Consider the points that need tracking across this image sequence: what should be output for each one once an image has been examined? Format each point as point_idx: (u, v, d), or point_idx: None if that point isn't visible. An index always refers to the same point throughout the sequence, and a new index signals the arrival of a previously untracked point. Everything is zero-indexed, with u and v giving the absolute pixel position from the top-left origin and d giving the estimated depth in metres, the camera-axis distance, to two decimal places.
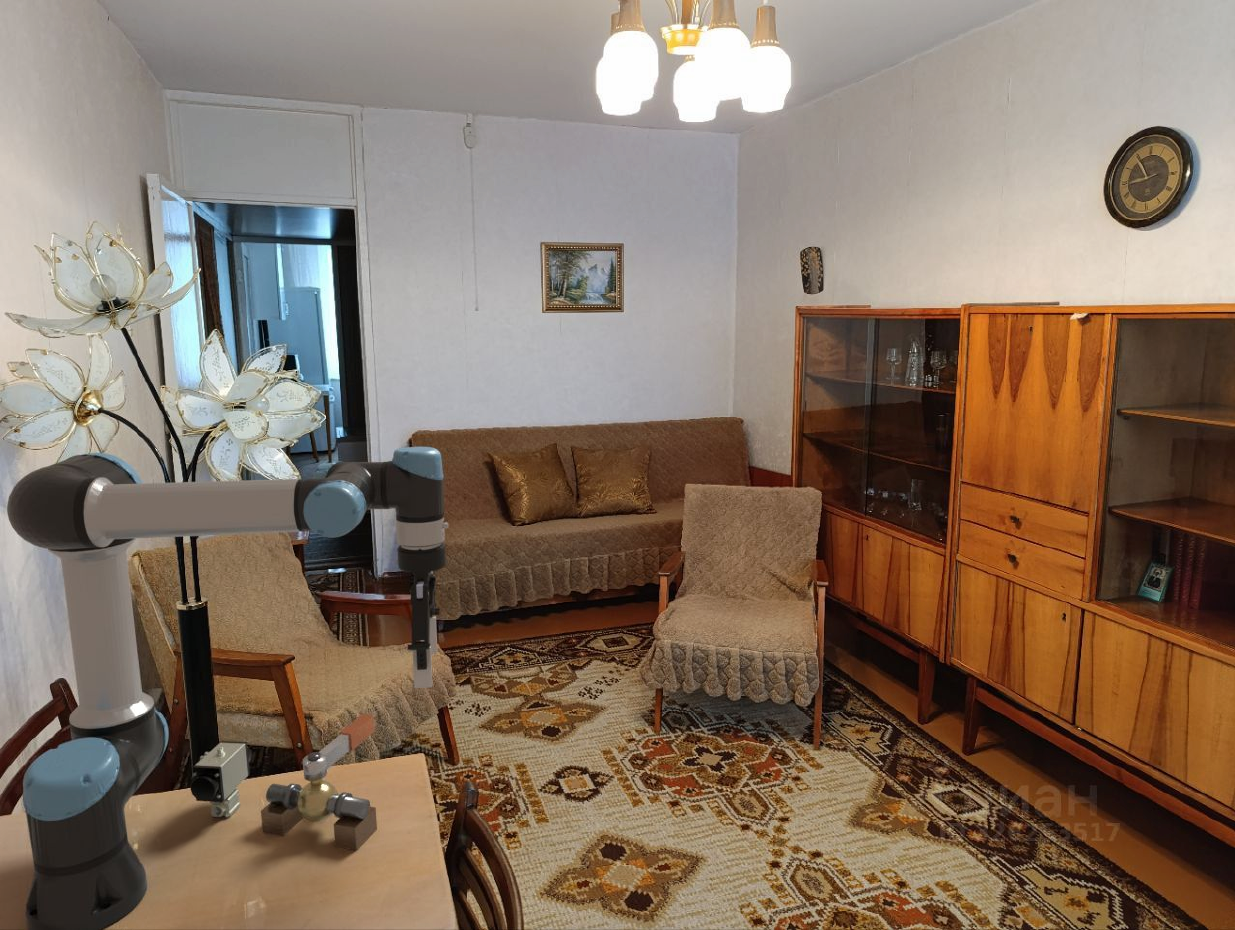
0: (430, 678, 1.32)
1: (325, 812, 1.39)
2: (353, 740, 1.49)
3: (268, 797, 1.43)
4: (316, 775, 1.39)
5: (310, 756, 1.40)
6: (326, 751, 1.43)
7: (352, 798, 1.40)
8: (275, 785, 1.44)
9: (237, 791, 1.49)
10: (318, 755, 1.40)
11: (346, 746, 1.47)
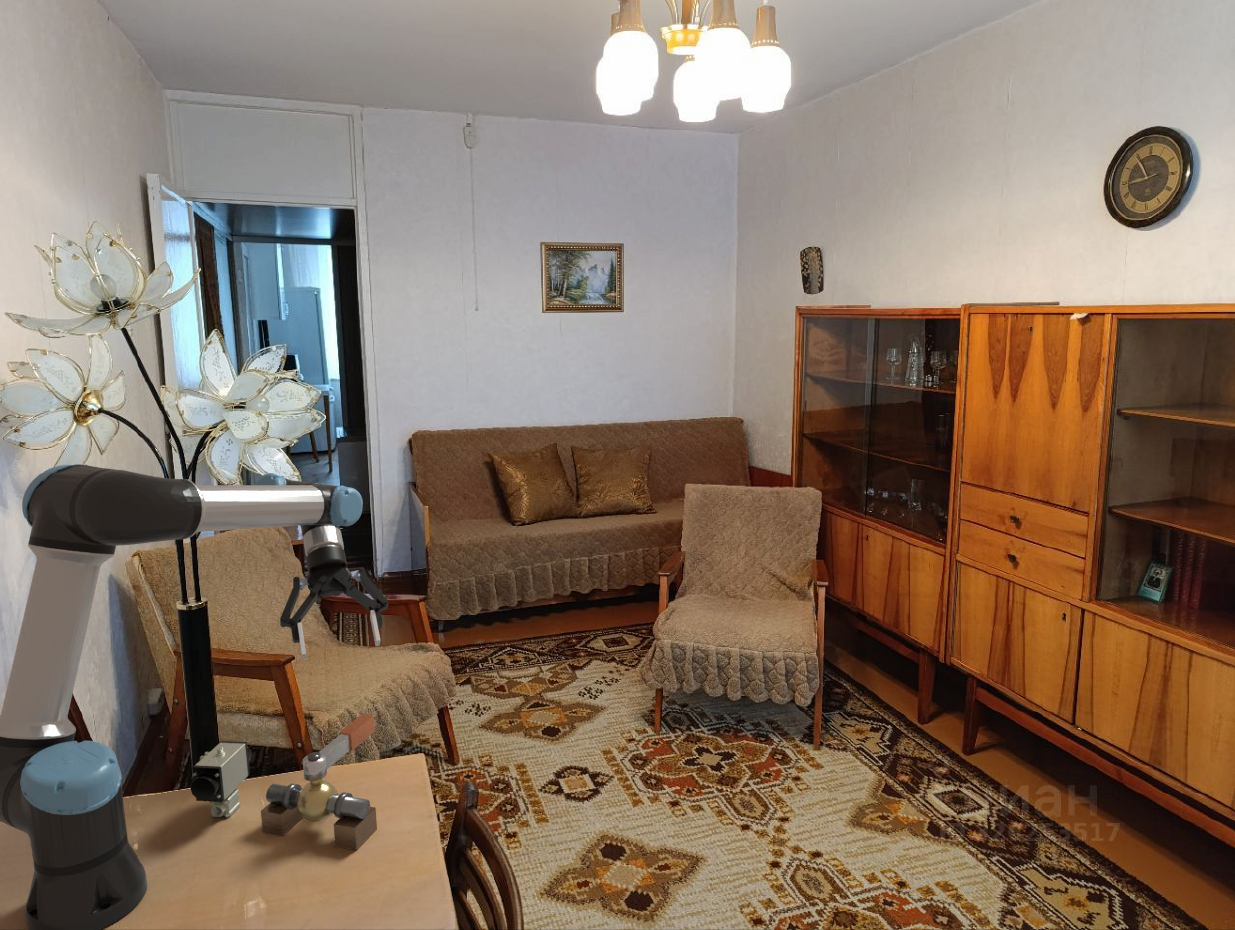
0: None
1: (325, 812, 1.39)
2: (353, 740, 1.49)
3: (268, 797, 1.43)
4: (316, 775, 1.39)
5: (310, 756, 1.40)
6: (326, 751, 1.43)
7: (352, 798, 1.40)
8: (275, 785, 1.44)
9: (237, 791, 1.49)
10: (318, 755, 1.40)
11: (346, 746, 1.47)
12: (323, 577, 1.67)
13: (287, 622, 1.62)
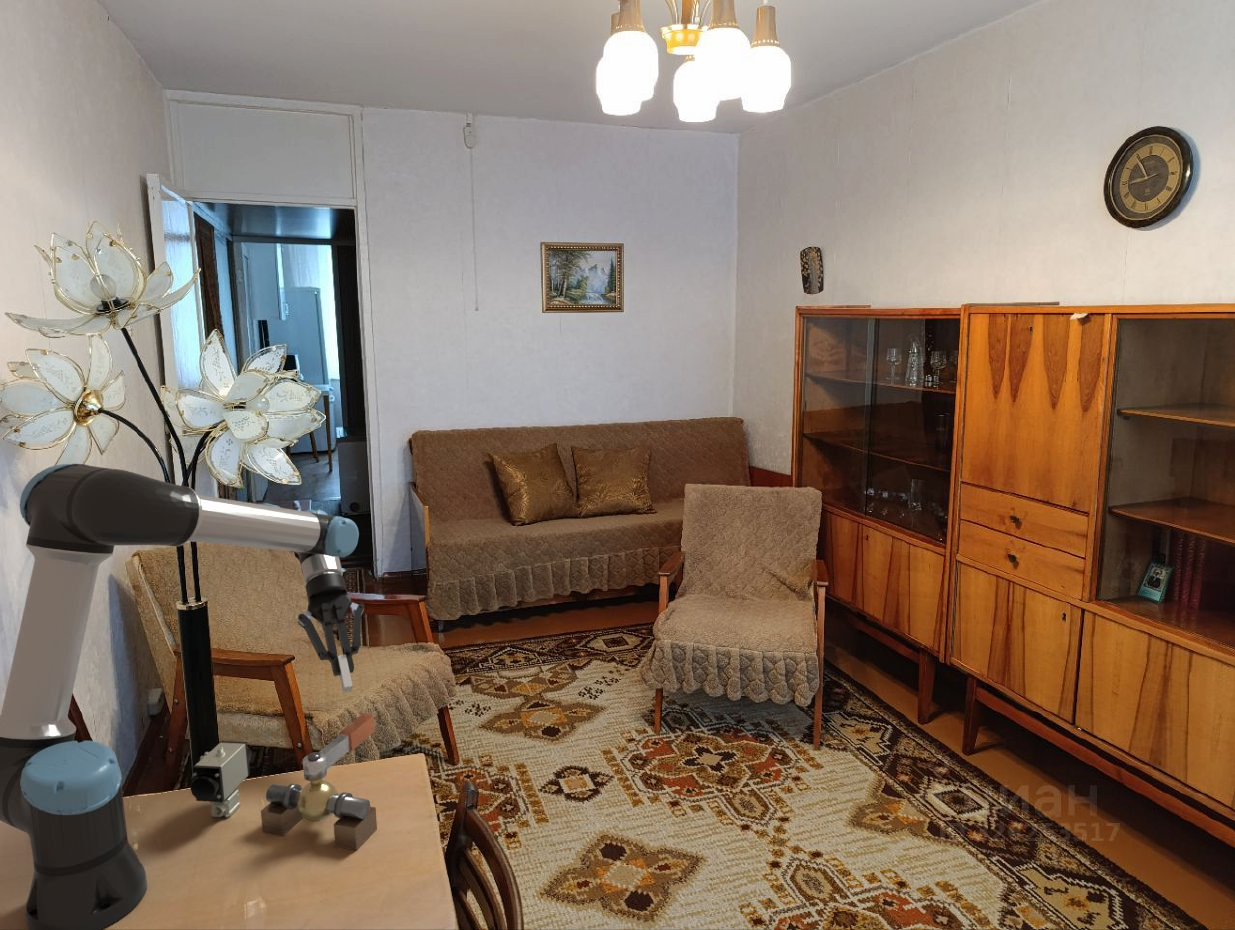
0: None
1: (325, 812, 1.39)
2: (353, 740, 1.49)
3: (268, 797, 1.43)
4: (316, 775, 1.39)
5: (310, 756, 1.40)
6: (326, 751, 1.43)
7: (352, 798, 1.40)
8: (275, 785, 1.44)
9: (237, 791, 1.49)
10: (318, 755, 1.40)
11: (346, 746, 1.47)
12: (324, 605, 1.67)
13: (327, 655, 1.62)
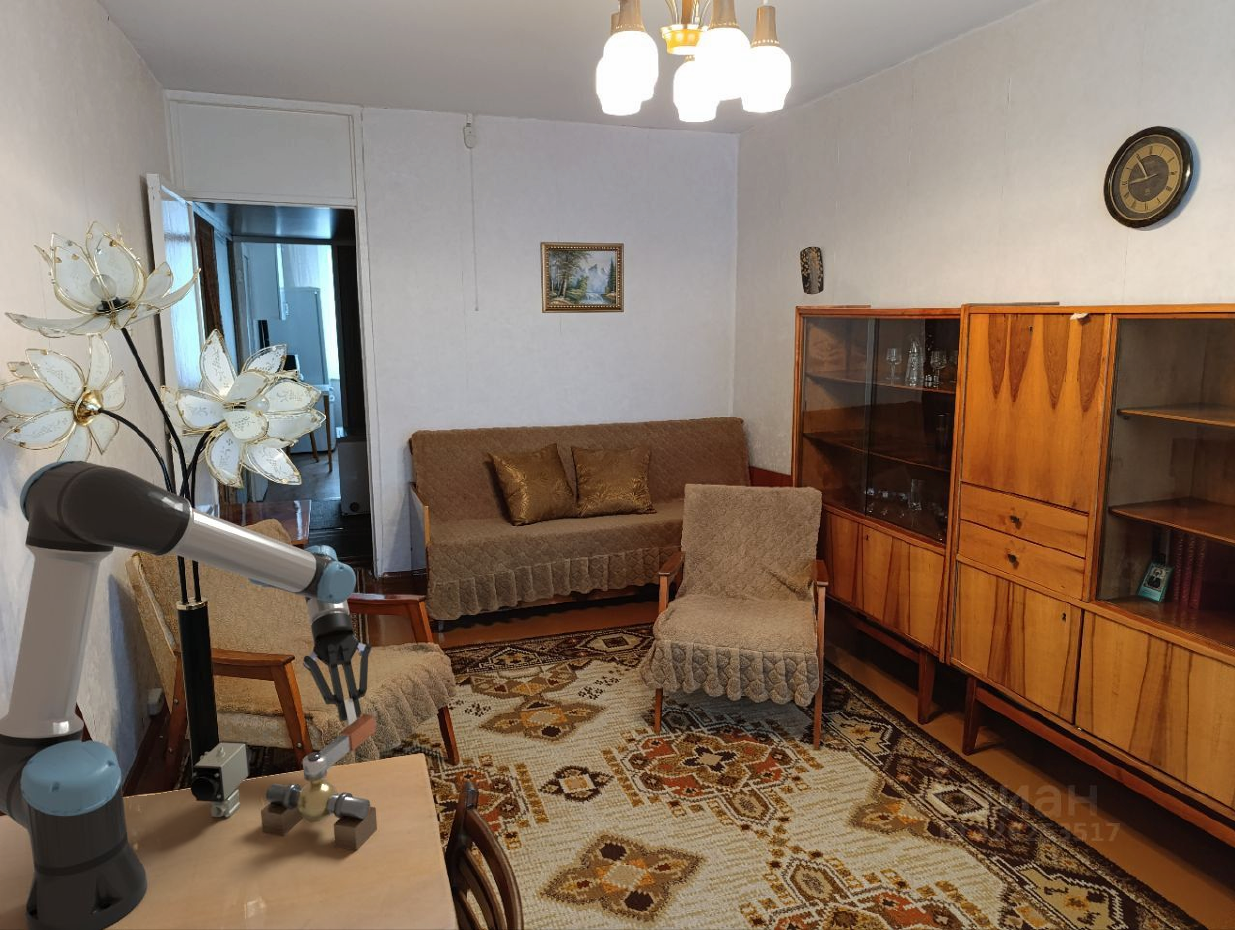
0: None
1: (325, 812, 1.39)
2: (354, 740, 1.49)
3: (268, 797, 1.43)
4: (316, 775, 1.39)
5: (310, 756, 1.40)
6: (326, 751, 1.43)
7: (352, 798, 1.40)
8: (275, 785, 1.44)
9: (237, 791, 1.49)
10: (318, 755, 1.40)
11: (346, 746, 1.47)
12: (330, 646, 1.61)
13: (333, 699, 1.57)
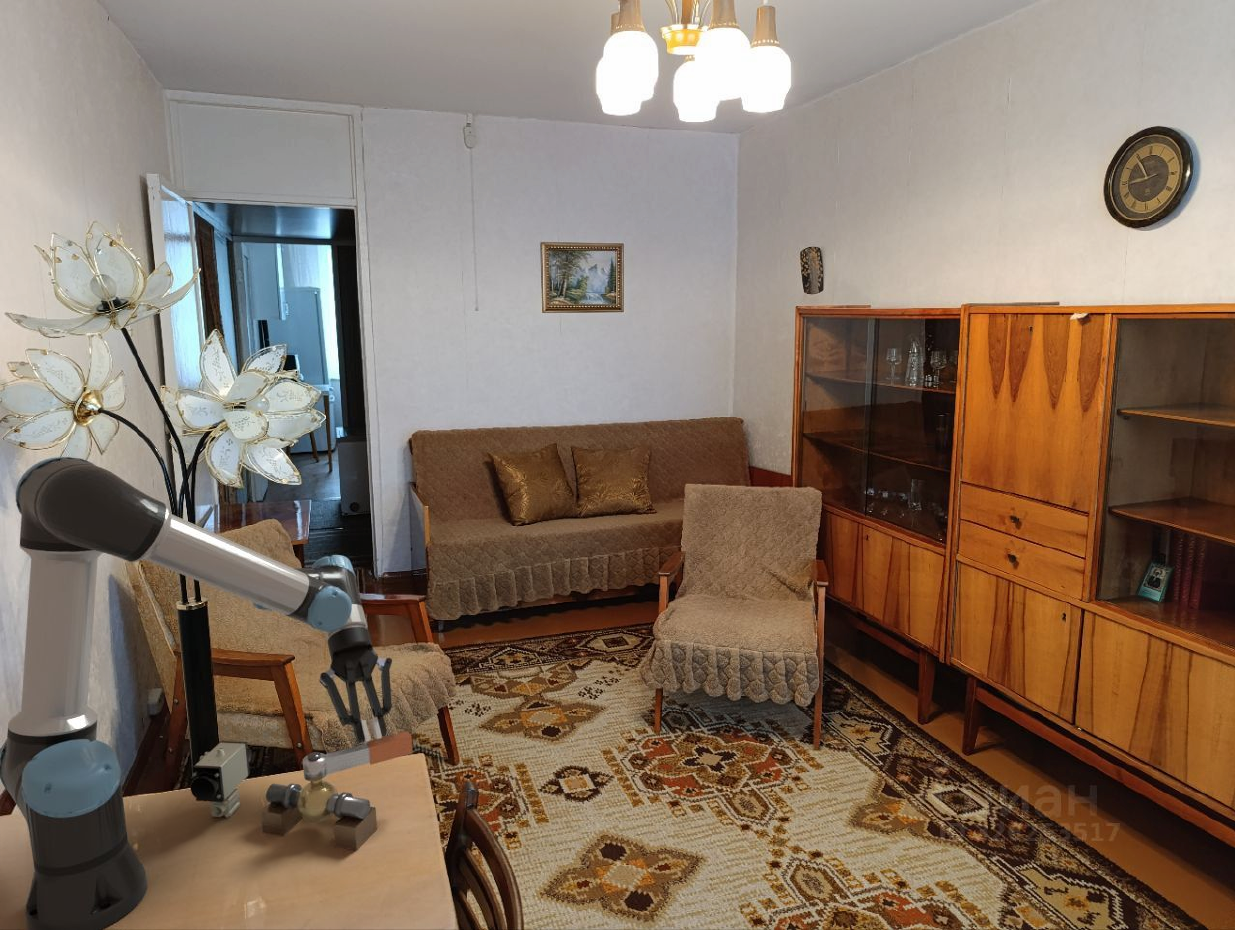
0: None
1: (325, 812, 1.39)
2: (373, 754, 1.44)
3: (268, 797, 1.43)
4: (308, 775, 1.39)
5: (310, 755, 1.40)
6: (332, 755, 1.41)
7: (352, 798, 1.40)
8: (275, 785, 1.44)
9: (237, 791, 1.49)
10: (315, 757, 1.39)
11: (363, 757, 1.44)
12: (348, 662, 1.54)
13: (350, 720, 1.49)
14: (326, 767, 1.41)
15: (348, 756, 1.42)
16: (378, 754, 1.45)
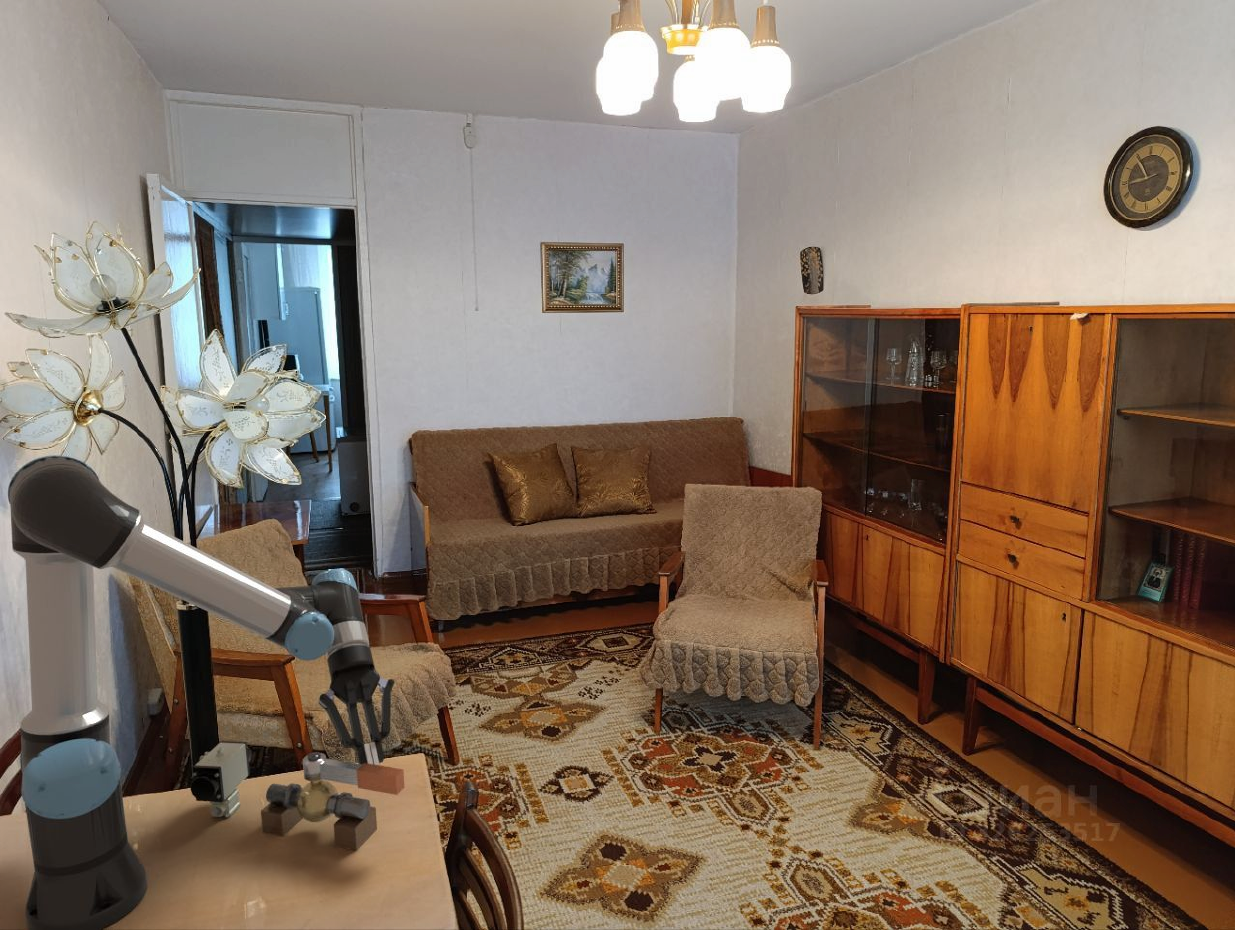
0: None
1: (325, 812, 1.39)
2: (360, 779, 1.37)
3: (268, 797, 1.43)
4: None
5: (312, 753, 1.40)
6: (327, 763, 1.39)
7: (352, 798, 1.40)
8: (275, 785, 1.44)
9: (237, 791, 1.49)
10: (311, 757, 1.39)
11: (352, 777, 1.38)
12: (348, 683, 1.46)
13: (352, 743, 1.42)
14: (320, 772, 1.39)
15: (339, 770, 1.38)
16: (364, 780, 1.36)
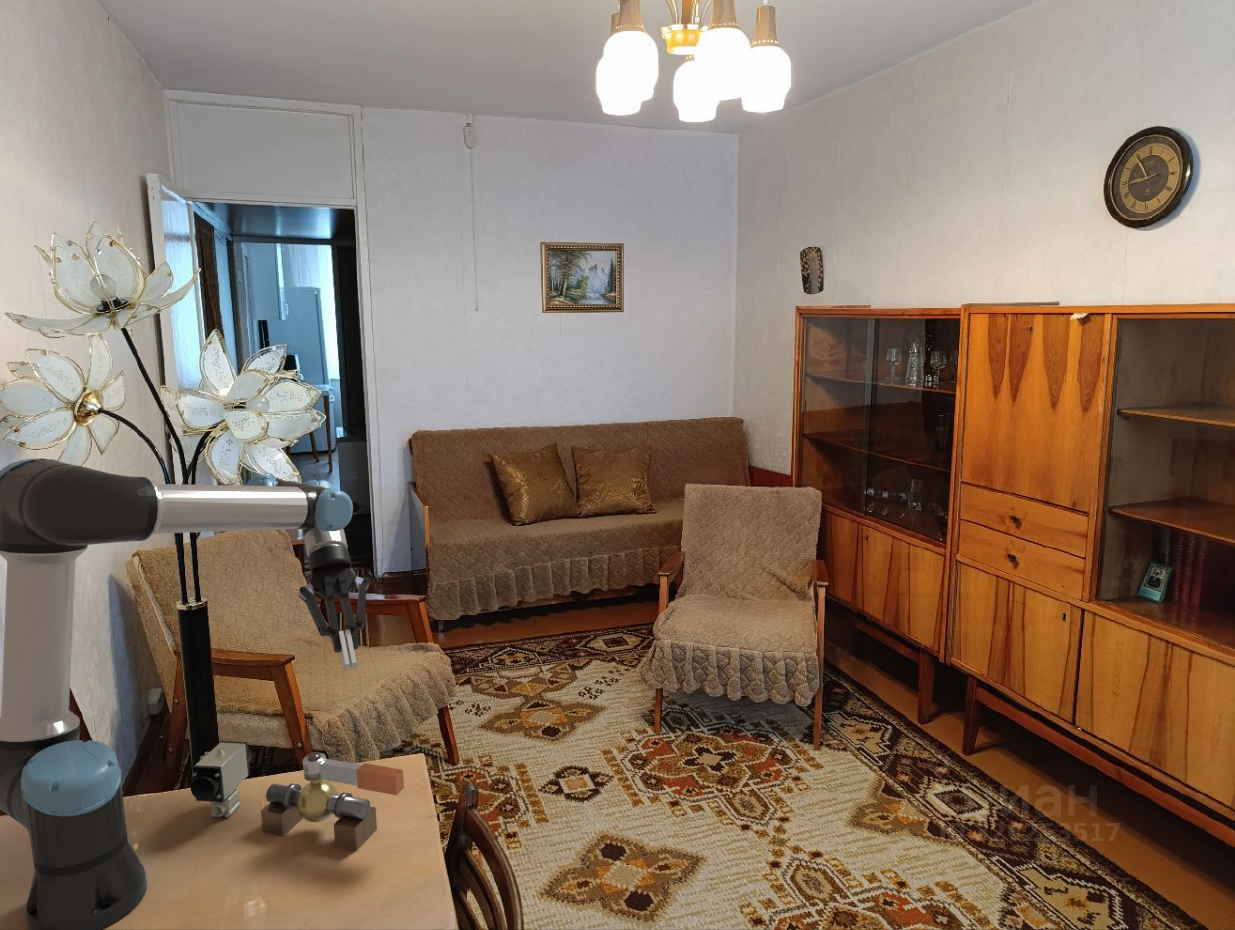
0: None
1: (325, 812, 1.39)
2: (360, 779, 1.37)
3: (268, 797, 1.43)
4: None
5: (312, 753, 1.40)
6: (327, 763, 1.39)
7: (352, 798, 1.40)
8: (275, 785, 1.44)
9: (237, 791, 1.49)
10: (311, 757, 1.39)
11: (352, 777, 1.37)
12: (326, 578, 1.58)
13: (328, 631, 1.54)
14: (320, 772, 1.39)
15: (339, 770, 1.38)
16: (364, 781, 1.36)
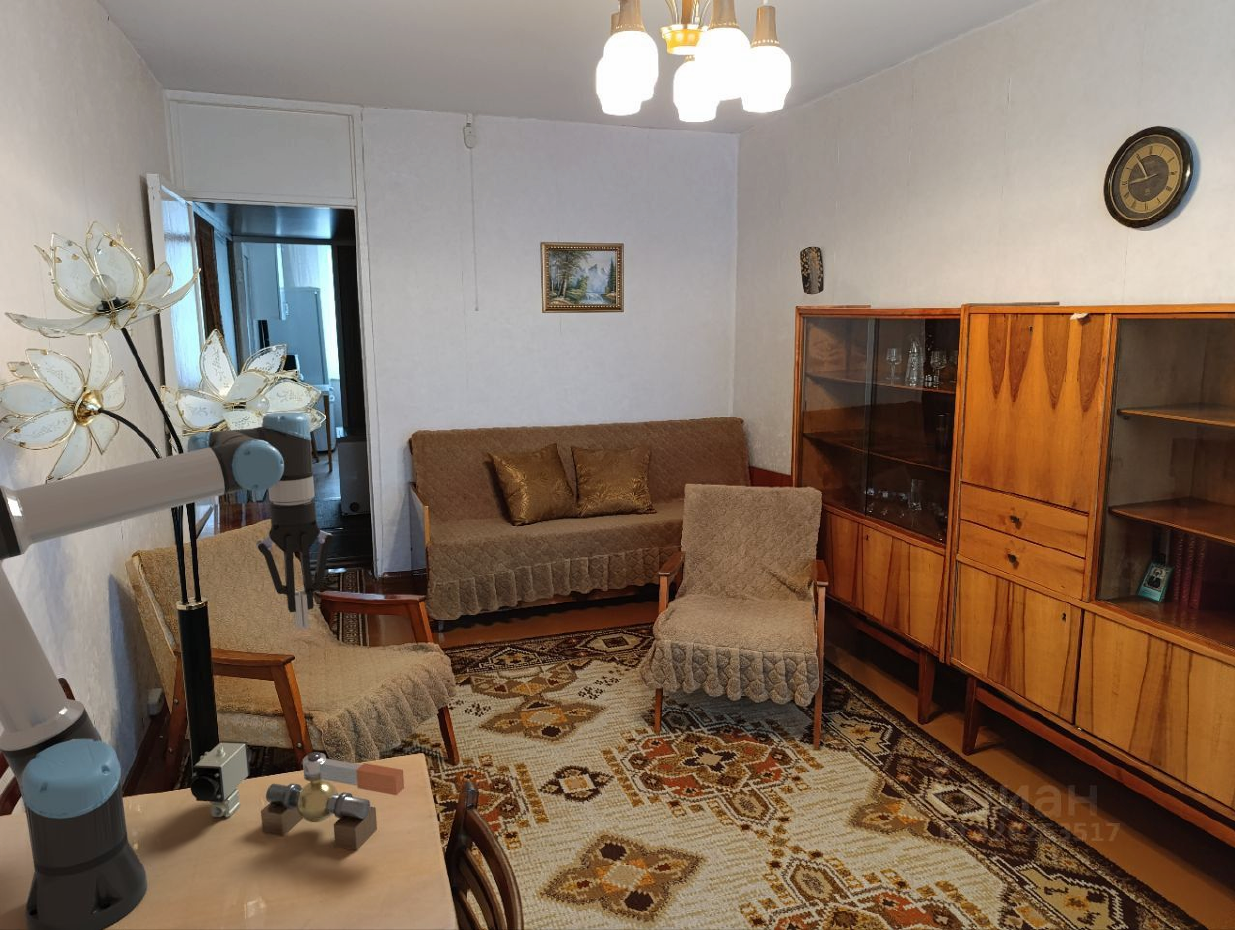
0: None
1: (325, 812, 1.39)
2: (360, 779, 1.37)
3: (268, 797, 1.43)
4: None
5: (312, 753, 1.40)
6: (327, 763, 1.39)
7: (352, 798, 1.40)
8: (275, 785, 1.44)
9: (237, 791, 1.49)
10: (311, 757, 1.39)
11: (352, 777, 1.37)
12: (288, 538, 1.49)
13: (284, 592, 1.51)
14: (320, 772, 1.39)
15: (339, 770, 1.38)
16: (364, 781, 1.36)
